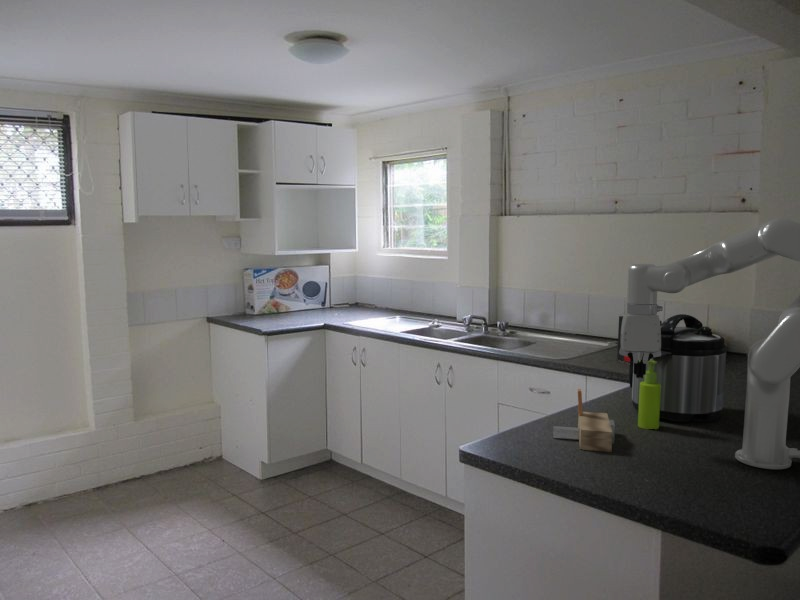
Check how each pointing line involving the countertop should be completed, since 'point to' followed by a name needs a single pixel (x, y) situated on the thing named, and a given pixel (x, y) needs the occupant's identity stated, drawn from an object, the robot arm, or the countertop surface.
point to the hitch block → (595, 432)
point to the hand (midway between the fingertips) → (639, 376)
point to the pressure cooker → (687, 371)
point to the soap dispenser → (649, 399)
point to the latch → (580, 402)
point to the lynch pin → (575, 432)
